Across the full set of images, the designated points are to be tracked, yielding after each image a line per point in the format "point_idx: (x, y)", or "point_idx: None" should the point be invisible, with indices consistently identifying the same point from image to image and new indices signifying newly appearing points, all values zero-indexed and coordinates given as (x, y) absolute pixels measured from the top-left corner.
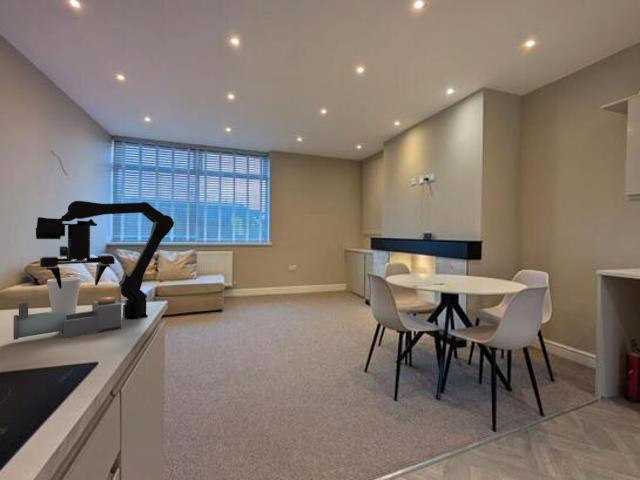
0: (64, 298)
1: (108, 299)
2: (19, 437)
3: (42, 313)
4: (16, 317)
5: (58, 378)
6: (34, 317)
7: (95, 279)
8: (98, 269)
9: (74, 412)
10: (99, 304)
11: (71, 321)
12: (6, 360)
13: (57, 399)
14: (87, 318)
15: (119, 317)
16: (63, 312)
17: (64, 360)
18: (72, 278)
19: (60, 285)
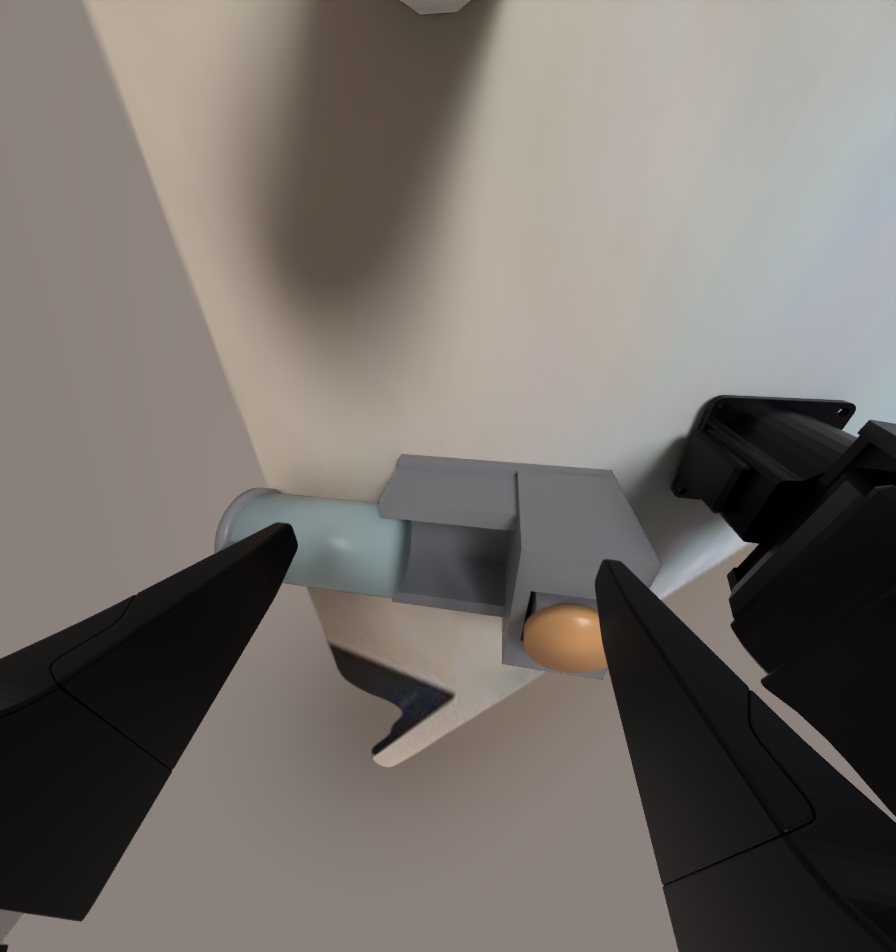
0: None
1: (566, 668)
2: (374, 746)
3: (309, 582)
4: None
5: (399, 699)
6: (294, 584)
7: (627, 634)
8: (696, 940)
9: (411, 749)
10: (530, 612)
11: (416, 601)
12: (313, 602)
13: (398, 729)
14: (466, 609)
15: None
16: (382, 596)
17: (407, 661)
18: None
19: (275, 580)
